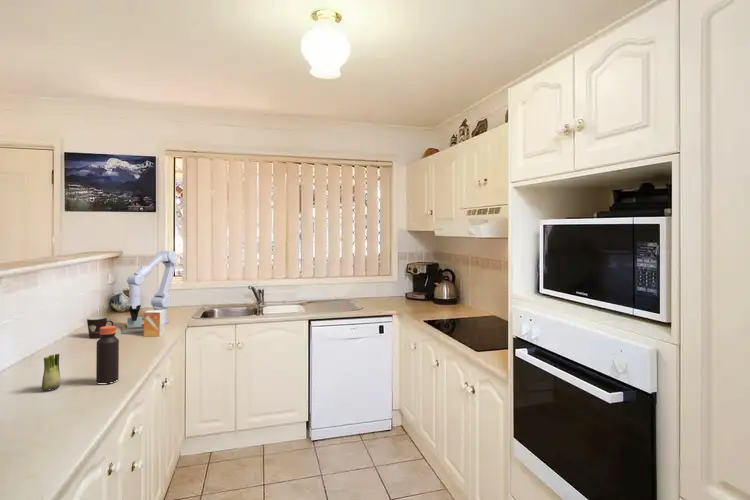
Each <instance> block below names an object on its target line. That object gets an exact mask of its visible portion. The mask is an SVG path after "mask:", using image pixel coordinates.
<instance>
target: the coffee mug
mask: <svg viewBox="0 0 750 500" xmlns="http://www.w3.org/2000/svg"><path fill="white" fill-rule="evenodd" d="M107 323H111V326H114V322H113V321H112V320H108V316H103V315H100V316H98V315H97V316H91V317H88V318H86V324H87V330H88V336H89V337H88V338H89V339H90V340H91V339H92V340H96V339H98V340H99V339H100V338H101V336H100V328H101V327H104V326H107Z"/></svg>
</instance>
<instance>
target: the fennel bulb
mask: <svg viewBox="0 0 750 500" xmlns="http://www.w3.org/2000/svg"><path fill="white" fill-rule="evenodd" d="M43 367H44V368H43V375H42V380H41V389H42V390H43V391H45V390H49V389H53V390H56V389H55V388H57V387H58V388H59V387H60V386H61V381H62V379H61V371H60V370H61V369H60V353H58V352H57V353H55V354H54V353H53V354H50V355H48V356H45V357H43ZM58 388H57V389H58Z"/></svg>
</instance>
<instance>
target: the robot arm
mask: <svg viewBox="0 0 750 500" xmlns="http://www.w3.org/2000/svg"><path fill="white" fill-rule="evenodd" d="M177 260H178V254H177V253H176V251H174V250H162V249H161V250H159V251H158V252H156V254H155V256H154V257H153V258H152V260H151V261H150V262H148V264H146V265H141V266H140V268H139V269H138V270H136V271H134V273H133V274H130V275H129V276H128V277H127V279H126V283H127V284H128V292H129V294H128V302H127V303H126V305H127V306H129V308H128V311H129V313H130V314H129V315H130V318H131V319H132V321H136V320H137V317H139V316H138V315H139V312H140V310H141V307H142V302H141V300H142V299H141V298H142V296H141V295H142V284H143V283H144V282H145V281H144V280H145V279H146V278H147V277H148V276H149V275H150V274H151V273H152V270H153V269H154V268H155V267H156V266H158V265H159V264H160V263H162V264H164V266H165V268H164V272H163V275H162V278H161V281H160V285H159V288H158V291H156V292H155V293H154V296H153V297H152V298H151V301H150V304H151V306H152V307H153V310H164V324H168V323H169V320H168V308H169V306H170V305H171V295H170V294H169V291H170V288H171V285H172V281H173V278H174V274H175V271H176V269H177Z"/></svg>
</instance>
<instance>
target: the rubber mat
mask: <svg viewBox="0 0 750 500" xmlns="http://www.w3.org/2000/svg"><path fill="white" fill-rule="evenodd" d="M140 333H144V328H143V329H129V330H122V329H121V335H125V334H126V335H127V334H128V335H129V334H140Z"/></svg>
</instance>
